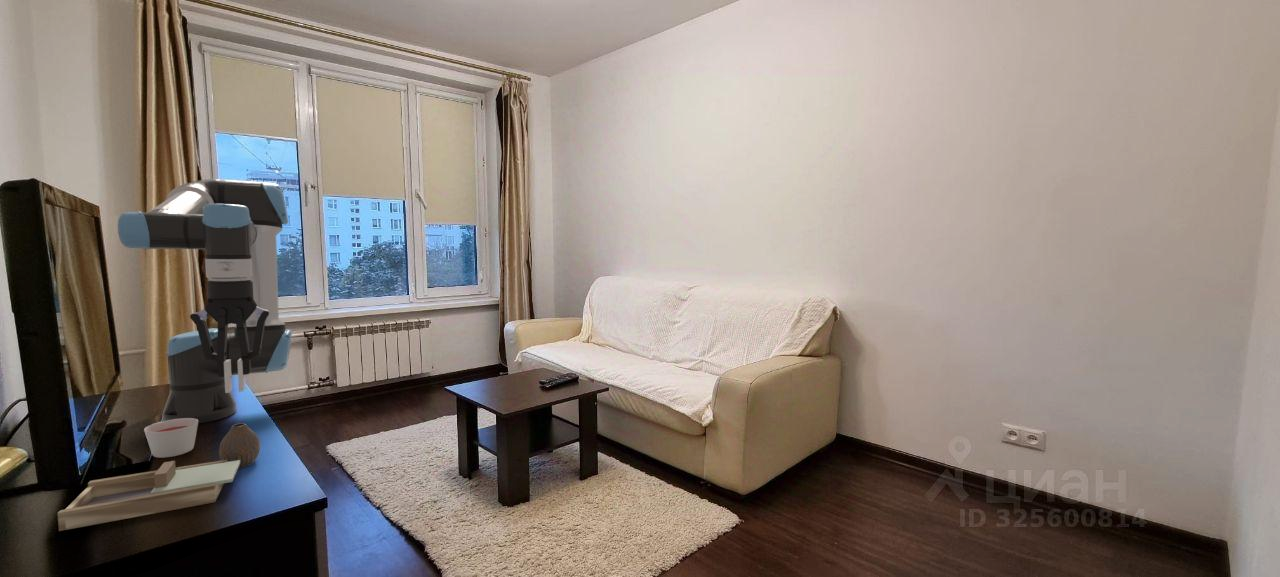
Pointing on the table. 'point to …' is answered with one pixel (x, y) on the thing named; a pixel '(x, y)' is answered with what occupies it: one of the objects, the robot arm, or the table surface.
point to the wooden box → (131, 499)
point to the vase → (240, 445)
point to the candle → (171, 437)
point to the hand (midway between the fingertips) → (235, 390)
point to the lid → (193, 476)
